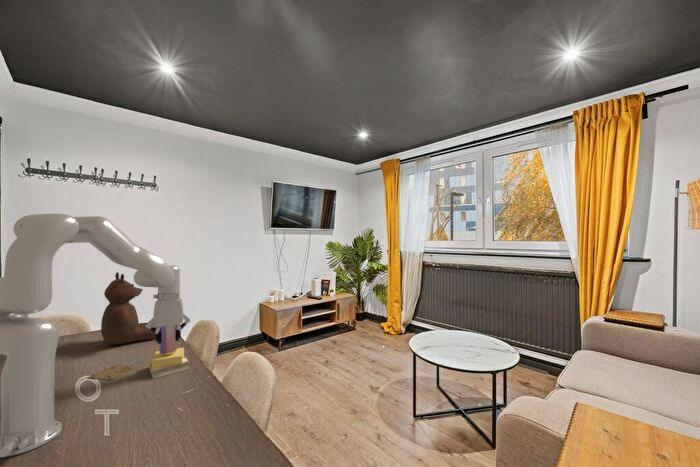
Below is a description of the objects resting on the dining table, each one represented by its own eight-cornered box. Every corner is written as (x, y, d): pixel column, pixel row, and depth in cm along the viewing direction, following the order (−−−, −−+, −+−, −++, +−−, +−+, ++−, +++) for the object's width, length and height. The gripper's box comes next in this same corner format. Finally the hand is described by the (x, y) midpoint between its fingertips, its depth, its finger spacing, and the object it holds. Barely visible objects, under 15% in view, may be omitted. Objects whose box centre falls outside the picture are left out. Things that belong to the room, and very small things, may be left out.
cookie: (112, 382, 109) (112, 379, 109) (86, 379, 111) (86, 376, 111) (141, 368, 120) (141, 365, 120) (116, 365, 123) (116, 363, 123)
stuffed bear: (166, 341, 151) (167, 272, 151) (109, 354, 133) (111, 276, 134) (147, 329, 169) (148, 268, 170) (95, 339, 152) (97, 271, 153)
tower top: (182, 363, 117) (182, 355, 117) (151, 368, 112) (151, 360, 112) (183, 354, 126) (183, 347, 126) (155, 358, 121) (156, 351, 121)
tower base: (188, 369, 118) (188, 361, 118) (153, 378, 111) (153, 370, 111) (182, 359, 127) (182, 352, 127) (148, 367, 120) (148, 360, 120)
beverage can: (157, 356, 115) (157, 317, 115) (162, 350, 121) (162, 313, 121) (174, 354, 117) (174, 316, 117) (178, 348, 123) (179, 312, 123)
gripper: (142, 300, 112) (141, 348, 111) (193, 295, 120) (193, 340, 120) (143, 297, 118) (143, 342, 118) (192, 293, 127) (192, 335, 127)
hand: (168, 341), depth 119 cm, fingers closed on beverage can, 5 cm apart
